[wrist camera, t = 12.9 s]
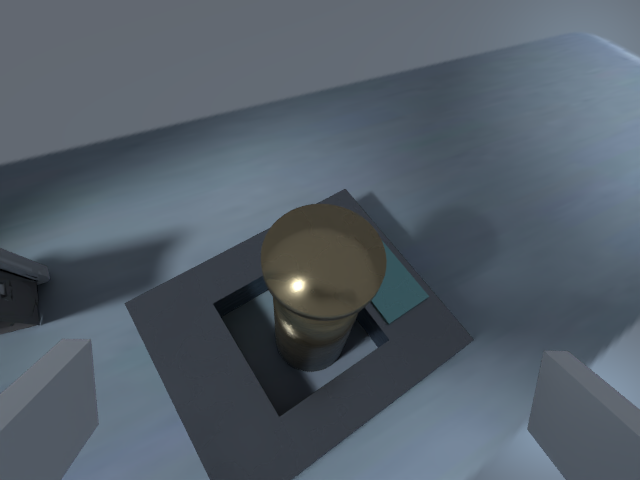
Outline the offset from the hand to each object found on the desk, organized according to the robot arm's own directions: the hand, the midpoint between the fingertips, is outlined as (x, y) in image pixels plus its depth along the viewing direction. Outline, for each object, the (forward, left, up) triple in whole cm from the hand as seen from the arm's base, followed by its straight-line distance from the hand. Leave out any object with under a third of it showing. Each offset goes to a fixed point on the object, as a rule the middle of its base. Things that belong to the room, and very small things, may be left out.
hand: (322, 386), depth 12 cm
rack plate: (-2, +6, -13) cm, 15 cm away
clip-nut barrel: (-1, +6, -13) cm, 15 cm away
